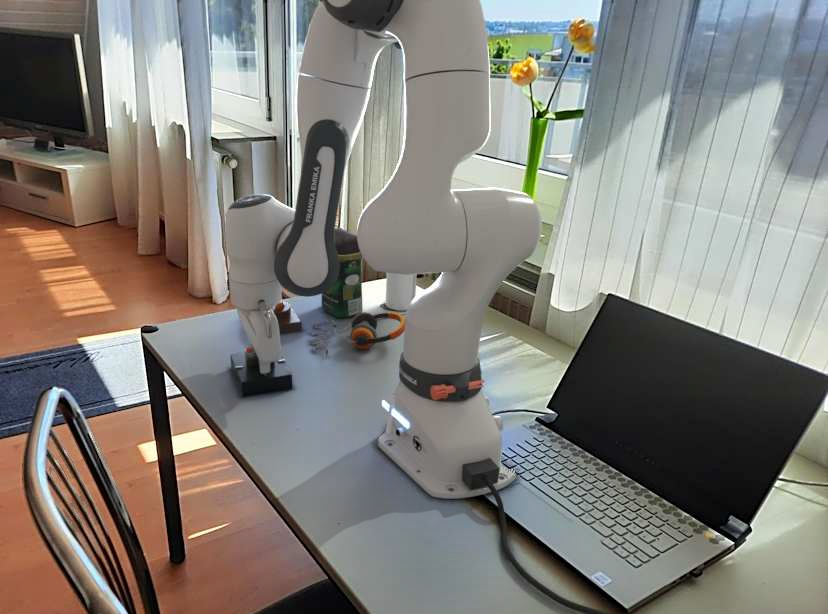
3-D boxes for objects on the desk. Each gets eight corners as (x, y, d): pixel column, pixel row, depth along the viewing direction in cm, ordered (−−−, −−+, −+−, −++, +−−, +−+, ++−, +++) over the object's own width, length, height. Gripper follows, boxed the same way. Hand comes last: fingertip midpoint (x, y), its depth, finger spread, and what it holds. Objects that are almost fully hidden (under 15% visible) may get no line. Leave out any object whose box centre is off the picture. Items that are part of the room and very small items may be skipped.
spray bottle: (420, 305, 151) (425, 229, 143) (401, 313, 147) (405, 236, 139) (398, 297, 156) (401, 223, 147) (379, 305, 151) (381, 229, 143)
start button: (285, 310, 138) (285, 303, 138) (266, 312, 137) (266, 305, 136) (280, 303, 142) (280, 296, 141) (262, 305, 141) (262, 298, 140)
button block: (301, 331, 138) (301, 313, 136) (259, 336, 135) (258, 319, 133) (288, 311, 147) (287, 294, 145) (249, 316, 144) (247, 299, 143)
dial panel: (293, 389, 116) (292, 373, 115) (241, 397, 113) (240, 381, 112) (278, 361, 125) (277, 347, 124) (230, 368, 123) (229, 353, 121)
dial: (272, 360, 120) (271, 344, 118) (274, 363, 118) (274, 347, 117) (245, 364, 118) (244, 348, 117) (247, 368, 117) (246, 351, 115)
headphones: (310, 312, 140) (401, 294, 138) (316, 333, 142) (406, 316, 140) (302, 347, 125) (405, 328, 123) (309, 371, 128) (410, 352, 125)
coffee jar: (316, 307, 150) (314, 228, 141) (345, 300, 153) (346, 223, 145) (337, 322, 142) (337, 240, 134) (367, 314, 146) (369, 234, 138)
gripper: (288, 311, 104) (291, 386, 110) (261, 270, 121) (265, 336, 127) (249, 316, 102) (254, 392, 108) (227, 273, 119) (232, 341, 125)
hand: (260, 362), depth 118 cm, fingers open, 6 cm apart
